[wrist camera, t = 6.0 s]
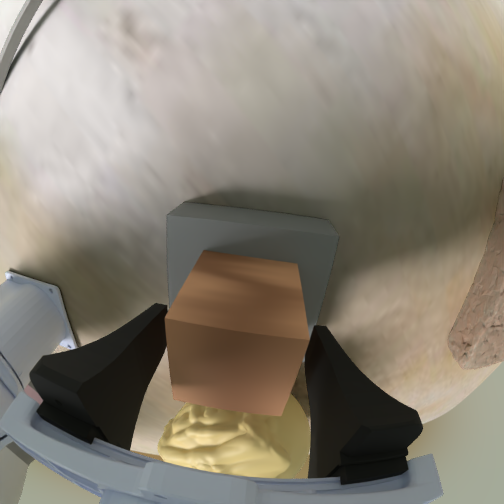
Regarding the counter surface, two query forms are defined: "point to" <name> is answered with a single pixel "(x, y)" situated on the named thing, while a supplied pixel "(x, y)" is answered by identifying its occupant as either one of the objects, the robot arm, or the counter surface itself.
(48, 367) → the robot arm
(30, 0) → the caliper
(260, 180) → the counter surface
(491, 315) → the brick
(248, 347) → the block
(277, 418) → the sculpture
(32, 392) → the blender
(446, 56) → the counter surface
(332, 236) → the base
